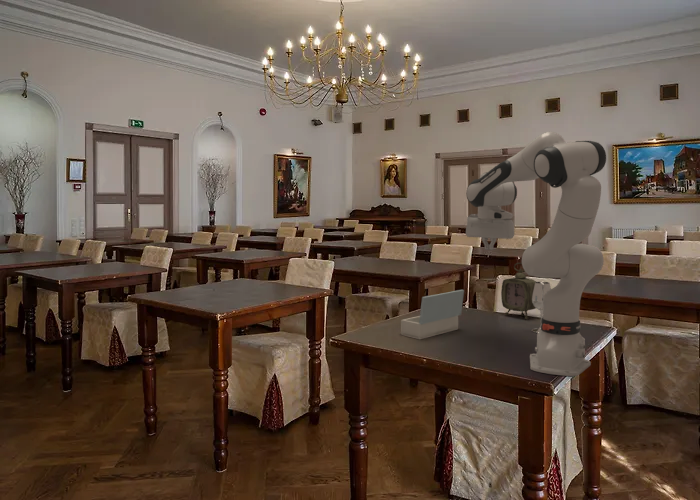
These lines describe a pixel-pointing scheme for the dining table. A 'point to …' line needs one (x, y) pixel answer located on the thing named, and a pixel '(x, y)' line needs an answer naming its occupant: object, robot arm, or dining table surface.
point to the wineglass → (539, 298)
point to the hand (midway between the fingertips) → (489, 249)
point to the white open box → (427, 327)
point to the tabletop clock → (518, 293)
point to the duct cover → (441, 306)
